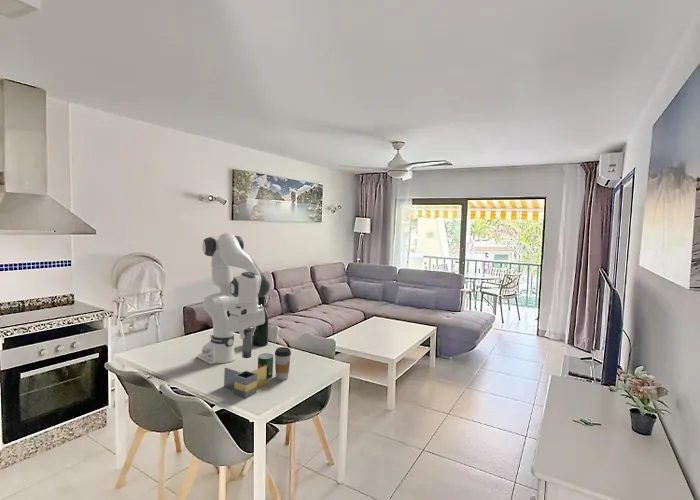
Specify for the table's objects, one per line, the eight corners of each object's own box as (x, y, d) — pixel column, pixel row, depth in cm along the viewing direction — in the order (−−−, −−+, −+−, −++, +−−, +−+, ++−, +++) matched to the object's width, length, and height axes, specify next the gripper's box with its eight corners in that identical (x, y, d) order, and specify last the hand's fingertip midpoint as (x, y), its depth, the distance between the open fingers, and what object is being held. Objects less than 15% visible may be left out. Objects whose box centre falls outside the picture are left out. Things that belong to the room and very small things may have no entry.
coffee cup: (286, 381, 191) (287, 353, 190) (271, 379, 193) (272, 351, 192) (292, 375, 200) (293, 347, 199) (277, 373, 201) (278, 346, 200)
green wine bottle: (265, 347, 242) (267, 296, 240) (249, 346, 242) (251, 295, 240) (269, 342, 252) (271, 293, 250) (254, 341, 253) (256, 292, 251)
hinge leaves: (218, 388, 180) (219, 370, 179) (245, 376, 195) (245, 359, 194) (245, 398, 172) (246, 379, 171) (270, 385, 186) (271, 367, 186)
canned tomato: (256, 379, 192) (256, 358, 192) (258, 373, 200) (259, 353, 200) (271, 379, 193) (272, 358, 192) (273, 373, 201) (274, 353, 200)
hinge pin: (238, 357, 174) (239, 327, 173) (246, 353, 179) (247, 324, 178) (246, 359, 172) (247, 329, 171) (254, 356, 176) (255, 326, 175)
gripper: (258, 303, 184) (257, 331, 185) (226, 310, 166) (225, 341, 167) (268, 305, 181) (267, 333, 182) (236, 312, 163) (235, 344, 164)
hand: (247, 337), depth 175 cm, fingers closed on hinge pin, 4 cm apart
